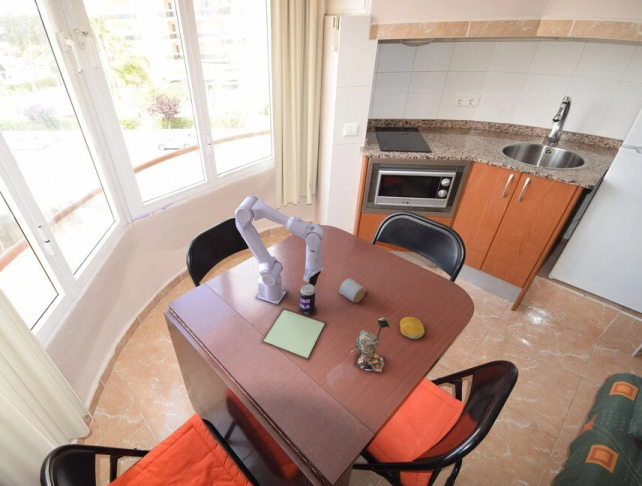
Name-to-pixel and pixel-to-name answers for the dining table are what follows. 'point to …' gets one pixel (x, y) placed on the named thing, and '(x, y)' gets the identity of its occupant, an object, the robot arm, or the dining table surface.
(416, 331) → the bread roll
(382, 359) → the grey figurine
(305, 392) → the dining table surface
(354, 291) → the white cylinder
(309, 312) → the beverage can
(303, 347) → the mat
